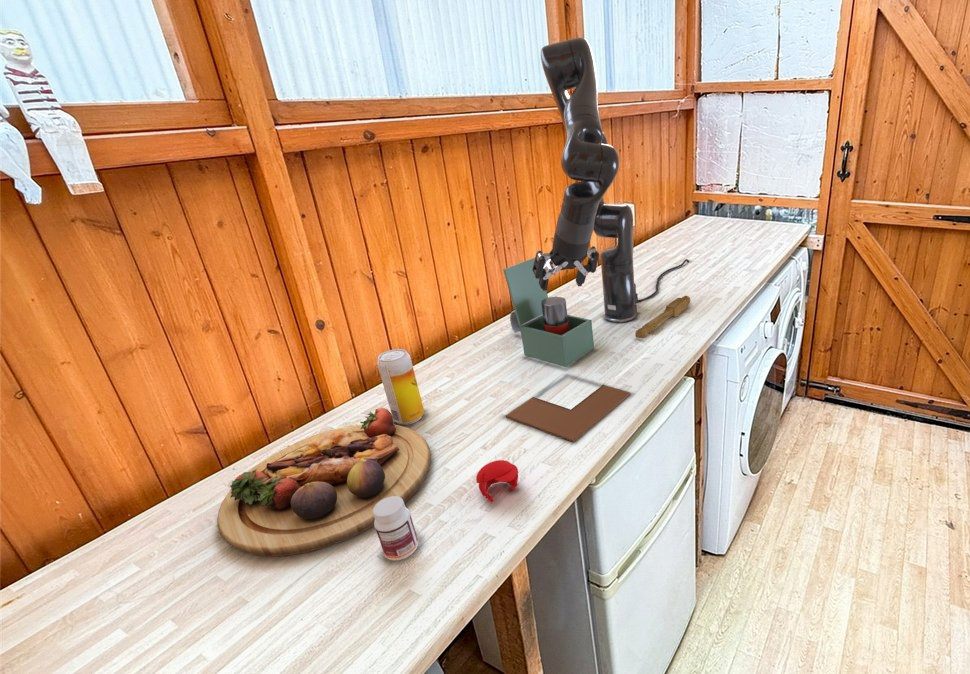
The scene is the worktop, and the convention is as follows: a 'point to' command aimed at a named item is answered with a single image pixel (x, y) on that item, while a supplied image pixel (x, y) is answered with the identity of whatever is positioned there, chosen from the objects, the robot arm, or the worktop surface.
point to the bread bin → (557, 341)
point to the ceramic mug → (516, 322)
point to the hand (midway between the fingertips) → (561, 285)
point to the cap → (496, 476)
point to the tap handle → (664, 316)
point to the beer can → (400, 386)
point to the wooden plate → (323, 487)
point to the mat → (568, 413)
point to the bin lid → (525, 291)
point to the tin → (555, 315)
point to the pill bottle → (395, 528)
